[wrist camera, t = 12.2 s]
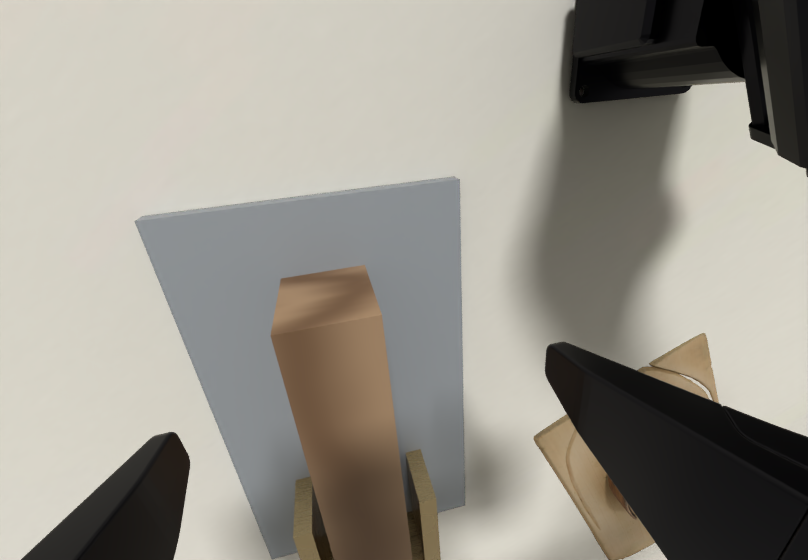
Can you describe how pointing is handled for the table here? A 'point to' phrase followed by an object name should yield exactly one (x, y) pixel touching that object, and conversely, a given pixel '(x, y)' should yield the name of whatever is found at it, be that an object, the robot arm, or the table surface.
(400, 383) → the mounting board
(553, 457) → the board
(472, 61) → the table surface
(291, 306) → the walnut rail
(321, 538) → the cup bracket
